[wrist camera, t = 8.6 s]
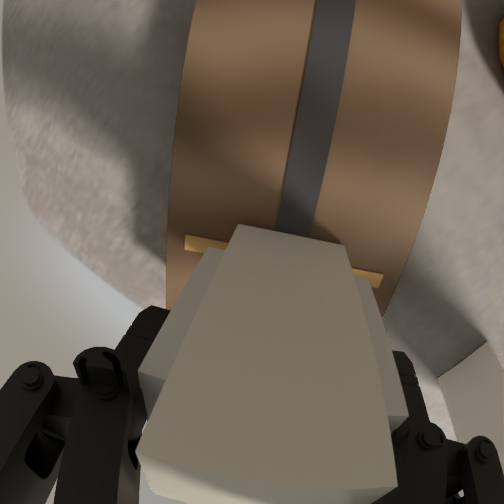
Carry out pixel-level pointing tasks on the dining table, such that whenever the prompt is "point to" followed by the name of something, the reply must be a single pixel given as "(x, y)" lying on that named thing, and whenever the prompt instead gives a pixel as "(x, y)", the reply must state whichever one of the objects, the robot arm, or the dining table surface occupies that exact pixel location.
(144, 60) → the dining table surface
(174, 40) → the dining table surface
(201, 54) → the brown flat block
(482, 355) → the milk
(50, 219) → the dining table surface
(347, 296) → the fader tab
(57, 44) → the dining table surface
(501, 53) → the decorated donut
